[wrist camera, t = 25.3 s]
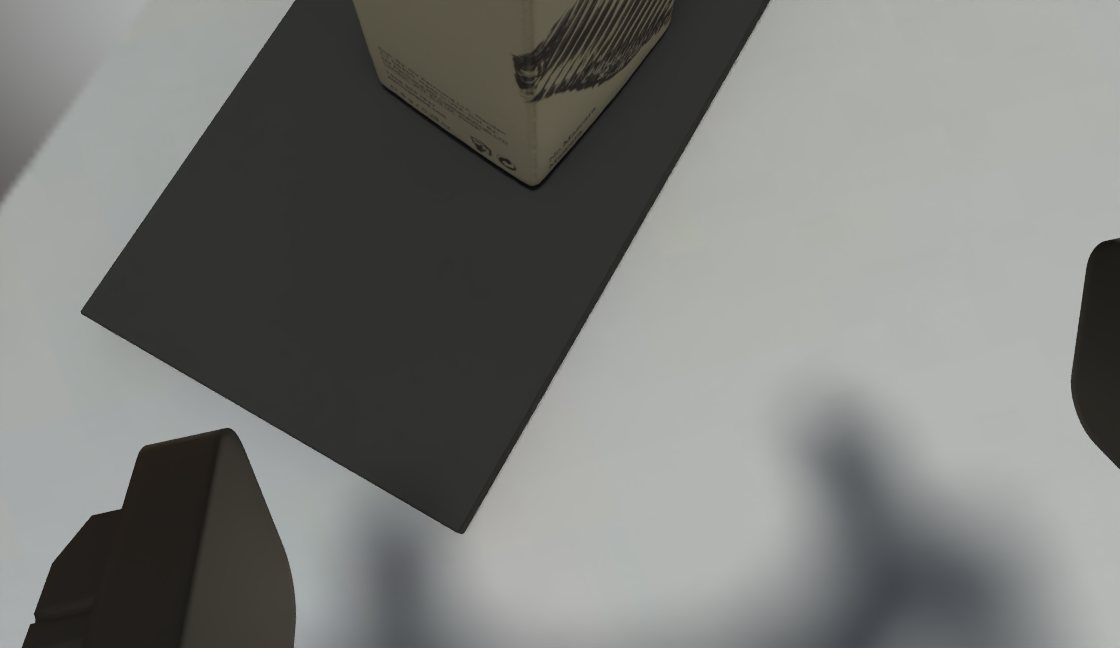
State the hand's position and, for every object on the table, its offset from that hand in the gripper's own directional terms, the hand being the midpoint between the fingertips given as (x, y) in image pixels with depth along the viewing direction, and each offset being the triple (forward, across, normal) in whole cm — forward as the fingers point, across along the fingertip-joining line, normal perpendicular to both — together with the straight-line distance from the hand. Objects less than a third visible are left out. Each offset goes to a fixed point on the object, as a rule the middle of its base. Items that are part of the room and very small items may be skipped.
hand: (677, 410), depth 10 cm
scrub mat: (+16, 0, +1) cm, 16 cm away
